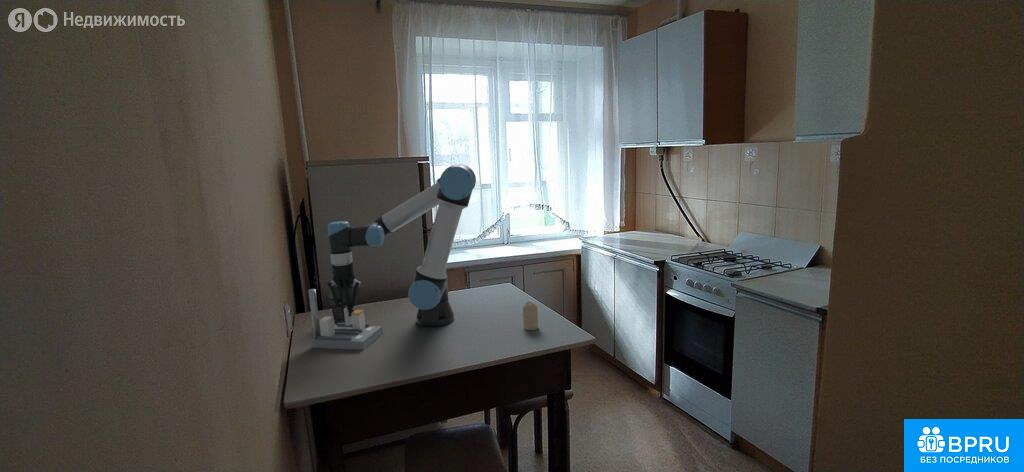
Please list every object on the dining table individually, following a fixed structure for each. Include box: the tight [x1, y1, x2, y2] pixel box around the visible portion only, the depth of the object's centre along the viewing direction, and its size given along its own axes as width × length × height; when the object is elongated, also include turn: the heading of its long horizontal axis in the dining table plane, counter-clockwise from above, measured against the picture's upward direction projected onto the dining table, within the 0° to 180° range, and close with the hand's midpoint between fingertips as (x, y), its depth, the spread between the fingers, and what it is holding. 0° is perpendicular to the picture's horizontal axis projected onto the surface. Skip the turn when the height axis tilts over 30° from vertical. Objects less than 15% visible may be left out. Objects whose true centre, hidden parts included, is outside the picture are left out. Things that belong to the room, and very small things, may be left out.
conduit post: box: [308, 288, 321, 339], centre depth 171 cm, size 2×2×18 cm
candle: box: [522, 301, 539, 331], centre depth 181 cm, size 6×6×10 cm
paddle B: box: [319, 315, 335, 337], centre depth 173 cm, size 3×4×7 cm
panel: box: [311, 323, 384, 351], centre depth 176 cm, size 20×15×4 cm
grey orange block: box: [351, 309, 366, 329], centre depth 179 cm, size 3×4×7 cm
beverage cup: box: [328, 286, 345, 325], centre depth 193 cm, size 7×7×20 cm
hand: (349, 324), depth 180 cm, fingers closed
